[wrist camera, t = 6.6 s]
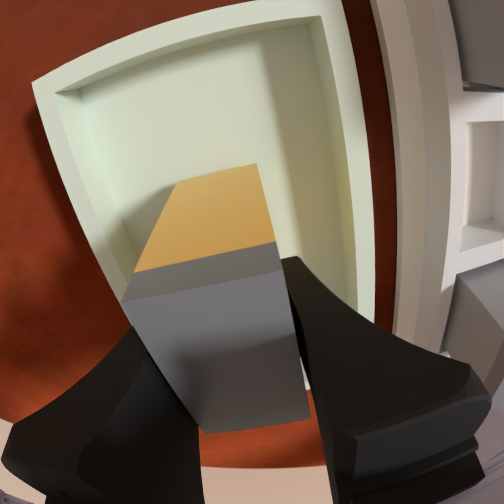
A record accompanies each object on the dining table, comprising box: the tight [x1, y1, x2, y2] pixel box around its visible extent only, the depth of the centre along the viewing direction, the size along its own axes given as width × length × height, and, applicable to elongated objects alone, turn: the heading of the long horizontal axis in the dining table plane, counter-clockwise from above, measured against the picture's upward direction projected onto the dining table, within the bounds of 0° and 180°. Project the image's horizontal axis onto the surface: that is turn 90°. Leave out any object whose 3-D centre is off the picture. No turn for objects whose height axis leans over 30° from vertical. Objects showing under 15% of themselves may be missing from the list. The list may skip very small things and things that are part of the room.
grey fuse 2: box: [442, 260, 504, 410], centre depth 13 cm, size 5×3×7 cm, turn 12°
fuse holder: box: [370, 0, 504, 358], centre depth 12 cm, size 23×8×3 cm, turn 12°
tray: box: [32, 0, 375, 390], centre depth 13 cm, size 18×11×2 cm, turn 12°
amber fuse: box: [121, 163, 311, 434], centre depth 10 cm, size 5×3×7 cm, turn 13°
